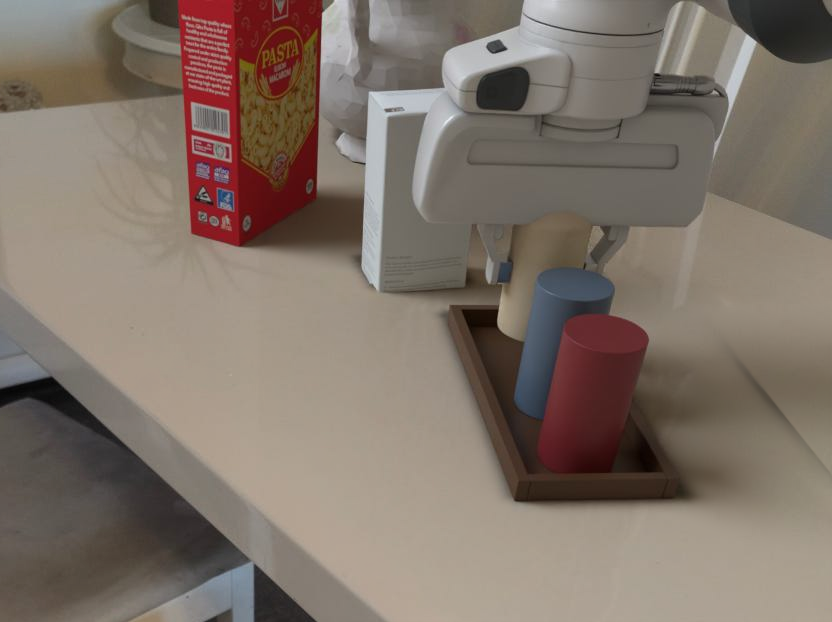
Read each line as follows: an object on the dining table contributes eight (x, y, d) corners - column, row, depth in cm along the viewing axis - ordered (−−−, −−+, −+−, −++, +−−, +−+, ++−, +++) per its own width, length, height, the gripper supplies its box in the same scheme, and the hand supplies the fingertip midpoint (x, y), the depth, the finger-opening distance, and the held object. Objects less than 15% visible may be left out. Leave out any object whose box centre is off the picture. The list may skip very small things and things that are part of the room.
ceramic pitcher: (453, 206, 102) (512, -83, 85) (272, 170, 103) (295, -125, 86) (467, 143, 118) (520, -112, 101) (310, 112, 118) (336, -148, 101)
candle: (491, 338, 73) (514, 199, 66) (501, 306, 77) (523, 173, 70) (565, 350, 72) (596, 211, 65) (571, 318, 76) (601, 184, 69)
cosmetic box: (444, 266, 89) (467, 84, 78) (466, 295, 85) (493, 107, 74) (355, 270, 87) (366, 85, 77) (373, 300, 83) (387, 109, 72)
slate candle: (574, 385, 73) (602, 267, 67) (593, 422, 69) (625, 301, 63) (506, 385, 72) (528, 266, 66) (522, 422, 69) (547, 300, 62)
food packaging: (239, 246, 89) (231, -92, 72) (191, 233, 91) (172, -101, 74) (316, 198, 99) (326, -110, 82) (271, 187, 101) (271, -118, 83)
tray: (571, 329, 81) (576, 305, 80) (671, 505, 63) (680, 478, 62) (446, 329, 80) (449, 304, 78) (512, 508, 62) (518, 481, 61)
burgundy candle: (600, 436, 68) (633, 313, 62) (623, 479, 64) (660, 353, 58) (528, 436, 67) (554, 313, 61) (546, 480, 64) (576, 353, 57)
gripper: (719, 63, 66) (662, 265, 75) (420, 52, 63) (400, 262, 73) (756, 90, 61) (691, 302, 71) (436, 79, 59) (413, 299, 68)
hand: (541, 282), depth 72 cm, fingers closed on candle, 5 cm apart
